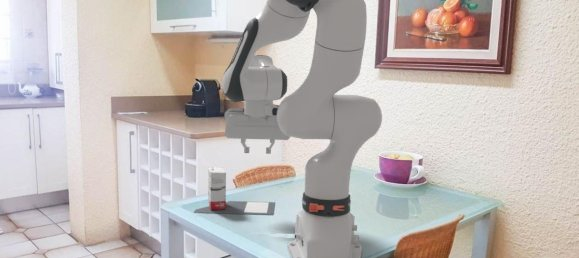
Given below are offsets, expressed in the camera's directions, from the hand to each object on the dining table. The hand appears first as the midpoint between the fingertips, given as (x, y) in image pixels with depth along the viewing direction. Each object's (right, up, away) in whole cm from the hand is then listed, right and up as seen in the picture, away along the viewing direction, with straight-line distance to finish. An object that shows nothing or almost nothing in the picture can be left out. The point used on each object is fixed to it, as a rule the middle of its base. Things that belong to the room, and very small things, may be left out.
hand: (257, 153), depth 144 cm
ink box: (-13, -17, +2) cm, 22 cm away
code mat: (-7, -17, +2) cm, 19 cm away
